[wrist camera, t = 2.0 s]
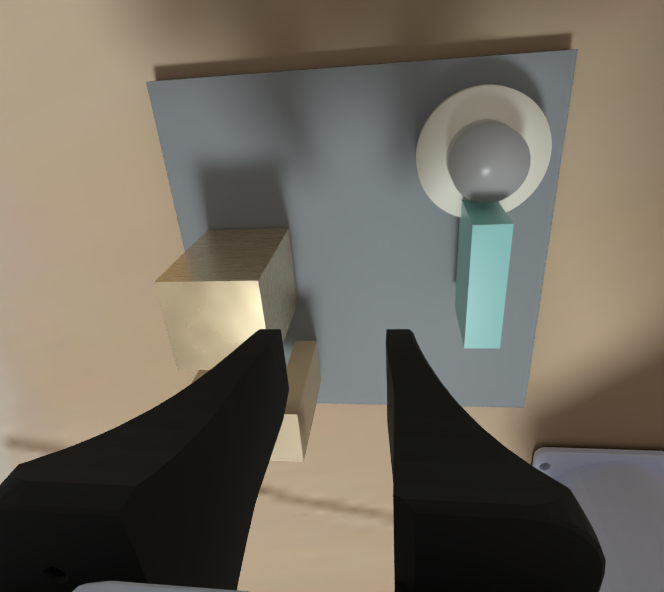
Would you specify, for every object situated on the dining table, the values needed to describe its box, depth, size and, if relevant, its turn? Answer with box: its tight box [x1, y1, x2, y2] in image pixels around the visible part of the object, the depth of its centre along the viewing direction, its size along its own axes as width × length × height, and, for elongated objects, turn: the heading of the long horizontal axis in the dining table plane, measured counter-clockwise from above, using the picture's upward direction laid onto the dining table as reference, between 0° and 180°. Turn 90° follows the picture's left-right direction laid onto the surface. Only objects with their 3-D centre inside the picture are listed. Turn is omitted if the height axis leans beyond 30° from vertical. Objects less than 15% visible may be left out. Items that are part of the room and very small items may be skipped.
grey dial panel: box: [146, 49, 578, 462], centre depth 18 cm, size 15×15×6 cm
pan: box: [416, 84, 552, 349], centre depth 16 cm, size 8×4×3 cm, turn 4°
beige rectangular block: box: [154, 228, 298, 370], centre depth 19 cm, size 9×4×5 cm, turn 4°
